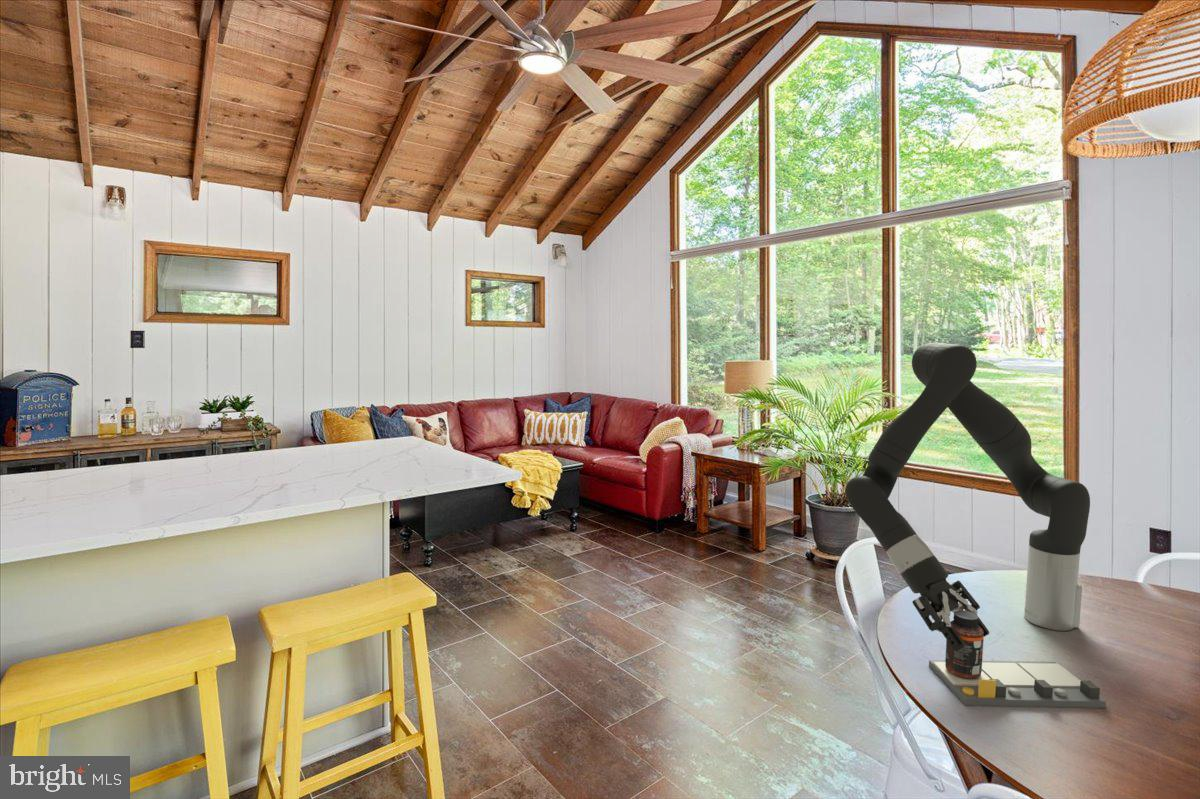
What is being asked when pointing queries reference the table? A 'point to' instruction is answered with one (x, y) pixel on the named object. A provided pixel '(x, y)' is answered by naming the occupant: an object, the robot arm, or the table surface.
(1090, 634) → the table surface
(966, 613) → the supplement bottle
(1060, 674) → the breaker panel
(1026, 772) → the table surface
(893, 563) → the robot arm
